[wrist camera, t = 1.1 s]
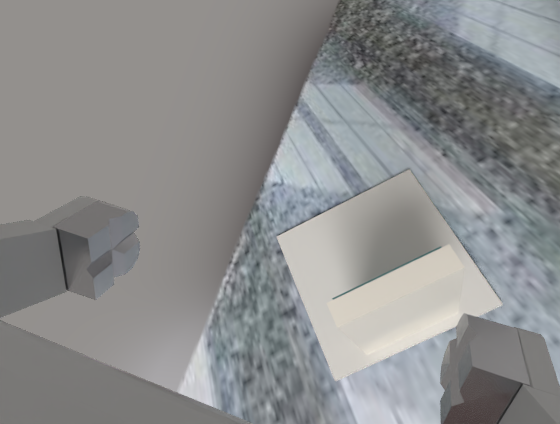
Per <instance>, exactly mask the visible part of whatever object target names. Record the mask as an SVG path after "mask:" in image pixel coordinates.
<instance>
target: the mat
mask: <svg viewBox="0 0 560 424" xmlns="http://www.w3.org/2000/svg"><path fill="white" fill-rule="evenodd" d="M277 239H278V242H279V244H280V247H281V249H282V252H283V254H284V256H285V259H286V261H287V264H288V266H289V269H290V271H291V274H292V276H293V279H294V281H295V283H296V286H297V288H298V291H299V293H300V296H301V298H302V301H303V303H304V306H305V308H306V311H307V313H308V315H309V318H310V320H311V323H312V325H313V328H314V330H315V333H316V335H317V338H318V340H319V342H320V345H321V347H322V350H323V352H324V355H325V357H326V360H327V362H328V365H329V367H330V370H331V372H332V374H333V377H334V379H335V381H338V380H340V379H342V378H344V377H347V376H349V375H351V374H353V373H355V372H358V371H360V370H362V369H364V368H366V367H368V366H371V365H373V364H375V363H377V362H379V361H382V360H384V359H386V358H388V357H390V356H393V355H395V354H397V353H399V352H401V351H404V350H406V349H408V348H410V347H412V346H415V345H417V344H419V343H421V342H423V341H426V340H428V339H430V338H432V337H434V336H436V335H439V334H441V333H443V332H445V331H447V330H450V329H452V328H454V327H456V326H457V324H458V322H459V320H460V318H461V316H462V315H463V314H464V313H466V314H469V315H473V316H476V317H478V316H480V315H483V314H485V313H487V312H489V311H491V310H494V309H496V308H498V307H500V306H502V305H503V304H502V302H501V301H500V299H499V298H498V297H497V295H496V294H495V292H494V291H493V289H492V288H491V286H490V285H489V283H488V282H487V281H486V279H485V278H484V276H483V275H482V273H481V272H480V270H479V269H478V268H477V266H476V265H475V263H474V262H473V260H472V259H471V257H470V256H469V255H468V253H467V252H466V250H465V249H464V247H463V246H462V244H461V243H460V241H459V240H458V239H457V237H456V236H455V234H454V233H453V231H452V230H451V228H450V227H449V226H448V224H447V223H446V221H445V220H444V218H443V217H442V215H441V214H440V212H439V211H438V210H437V208H436V207H435V205H434V204H433V202H432V201H431V199H430V198H429V197H428V195H427V194H426V192H425V191H424V189H423V188H422V186H421V185H420V184H419V182H418V181H417V179H416V178H415V176H414V175H413V173H412V172H411V170H410V169H409V170H407V171H405V172H403V173H401V174H399V175H397V176H395V177H393V178H391V179H389V180H387V181H385V182H383V183H381V184H379V185H377V186H375V187H373V188H371V189H369V190H367V191H365V192H363V193H361V194H359V195H357V196H355V197H354V198H352V199H350V200H348V201H346V202H344V203H342V204H340V205H338V206H336V207H334V208H332V209H330V210H328V211H326V212H324V213H322V214H320V215H318V216H316V217H314V218H312V219H310V220H308V221H306V222H304V223H302V224H300V225H298V226H296V227H294V228H293V229H291V230H289V231H287V232H285V233H283V234H281V235H279V236H277ZM448 244H450V246H451V247H452V249H453V250H454V252H455V253H456V255H457V256H458V258H459V259H460V261H461V262H462V264H463V265H464V267H465V270H464V277H463V284H462V291H461V298H460V305H459V312H458V313H456V314H454V315H452V316H450V317H448V318H446V319H443V320H441V321H439V322H437V323H435V324H433V325H430V326H428V327H426V328H424V329H422V330H419V331H417V332H415V333H413V334H411V335H409V336H406V337H404V338H402V339H400V340H398V341H396V342H393V343H391V344H389V345H387V346H385V347H382V348H380V349H378V350H376V351H374V352H372V353H369V354H367V355H366V354H365V353H364V352H363V351H362V350H361V349H360V348H359V347H358V346H356V345H355V344H354V343H353V342H352V341H351V340H350V339H349V338H348V337H347V336H346V335H345V334H344V333H342V332H341V331H340V330H339V329H338V328H337V326H336V324H335V322H334V319H333V317H332V315H331V312H330V310H329V308H328V306H327V303H328V302H330V301H332V300H333V299H332V298H334V297H336V296H338V295H340V294H342V293H344V292H347V291H349V290H351V289H353V288H355V287H357V286H359V285H361V284H363V283H365V282H367V281H369V280H371V279H374V278H376V277H378V276H380V275H382V274H384V273H386V272H388V271H390V270H392V269H394V268H396V267H398V266H401V265H403V264H405V263H407V262H409V261H411V260H413V259H415V258H417V257H419V256H421V255H423V254H426V253H428V252H430V251H432V250H434V249H436V248H438V247H440V246H441V247H444V246H446V245H448Z"/></svg>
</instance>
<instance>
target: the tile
mask: <svg viewBox="0 0 560 424" xmlns="http://www.w3.org/2000/svg"><path fill="white" fill-rule="evenodd" d="M464 270H465V267H464V265H463V264H462V262H461V261H460V259H459V258H458V256H457V255H456V253H455V252H454V250H453V249H452V247H451V246H450V244H448V245H446V246H444V247H441V246H440V247H438V248H436V249H434V250H432V251H430V252H428V253H426V254H423V255H421V256H419V257H417V258H415V259H413V260H411V261H409V262H407V263H405V264H403V265H401V266H398V267H396V268H394V269H392V270H390V271H388V272H386V273H384V274H382V275H380V276H378V277H376V278H374V279H371V280H369V281H367V282H365V283H363V284H361V285H359V286H357V287H355V288H353V289H351V290H349V291H347V292H344V293H342V294H340V295H338V296H336V297H334V298H332V299H333V300H332V301H330V302H328V303H327V306H328V308H329V310H330V312H331V315H332V317H333V319H334V322H335V324H336V326H337V328H338V329H339V330H340V331H341V332H342V333H344V334H345V335H346V336H347V337H348V338H349V339H350V340H351V341H352V342H353V343H354V344H355V345H356V346H358V347H359V348H360V349H361V350H362V351H363V352H364V353H365V354H366V355H367V354H369V353H372V352H374V351H376V350H378V349H380V348H382V347H385V346H387V345H389V344H391V343H393V342H396V341H398V340H400V339H402V338H404V337H406V336H409V335H411V334H413V333H415V332H417V331H419V330H422V329H424V328H426V327H428V326H430V325H433V324H435V323H437V322H439V321H441V320H443V319H446V318H448V317H450V316H452V315H454V314H456V313H458V312H459V305H460V298H461V291H462V284H463V277H464Z"/></svg>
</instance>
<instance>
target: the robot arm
mask: <svg viewBox="0 0 560 424" xmlns="http://www.w3.org/2000/svg"><path fill="white" fill-rule="evenodd" d="M138 227H139V224H138V216H137V215H136V214H135V213H134V212H133V211H130V210H127V209H124V208H121V207H118V206H115V205H112V204H109V203H106V202H103V201H100V200H96V199H93V198H90V197H84V196H80V197H78V198H76V199H74V200H73V201H71V202H69V203H67V204H65V205H63V206H61V207H60V208H58V209H56V210H54V211H52V212H50V213H49V214H47V215H45V216H43V217H41V218H39V219H37V220H35V221H31V220H25V221H19V222H13V223H7V224H1V225H0V318H1V317H4V316H6V315H9V314H11V313H14V312H16V311H19V310H21V309H24V308H27V307H29V306H31V305H34V304H37V303H39V302H42V301H44V300H47V299H50V298H52V297H55V296H57V295H60V294H62V293H65V292H66V290H68V291H71V292H74V293H77V294H79V295H82V296H86V297H89V298H91V299H94V300H96V299H97V298H98V297H100V296H101V295H102V294H103V293H104V292H105V291H107V290H108V289H109V288H110V287H111V286H113V285H114V277H118V276H121V275H125V274H126V273H127V272H128V271H129V270H131V269H132V268H133V266H134V264H135V262H136V261H137V259H138V256H139V251H140V242H139V240H138V238H137V236H136V235H135V233H134V232H135V231H136V230H137V228H138ZM456 333H457V338H456V339H454V340H452V341H449V344H448V346H447V349H446V351H445V354H444V358H443V362H442V366H441V380H440V384H441V385H442V387H443V388H444V389H445V392H444V394H443V396H442V398H441V401H440V404H441V424H560V386H559V383H558V380H557V377H556V373H555V370H554V367H553V364H552V361H551V358H550V355H549V352H548V349H547V345H546V342H545V339H544V338H543V337H542V335H541V334H537V333H534V332H530V331H526V330H523V329H519V328H516V327H514V328H513V327H510V326H506V325H503V324H499V323H496V322H493V321H489V320H486V319H483V318H479V317H476V316H473V315H469V314H466V313H464V314H463V315H462V316H461V318H460V320H459V322H458V324H457V326H456ZM0 424H253V423H250V422H248V421H245V420H243V419H240V418H238V417H235V416H233V415H231V414H228V413H226V412H223V411H221V410H218V409H216V408H213V407H211V406H209V405H206V404H204V403H201V402H199V401H196V400H194V399H191V398H189V397H187V396H184V395H182V394H179V393H177V392H174V391H172V390H169V389H167V388H164V387H162V386H160V385H157V384H155V383H152V382H150V381H147V380H145V379H143V378H140V377H137V376H135V375H133V374H130V373H128V372H126V371H123V370H121V369H118V368H116V367H113V366H111V365H108V364H106V363H103V362H101V361H98V360H96V359H94V358H91V357H89V356H86V355H84V354H82V353H79V352H76V351H74V350H72V349H69V348H67V347H64V346H62V345H59V344H57V343H55V342H52V341H50V340H47V339H45V338H43V337H40V336H38V335H35V334H33V333H30V332H28V331H25V330H23V329H21V328H18V327H16V326H13V325H11V324H8V323H6V322H3V321H1V320H0Z"/></svg>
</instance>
